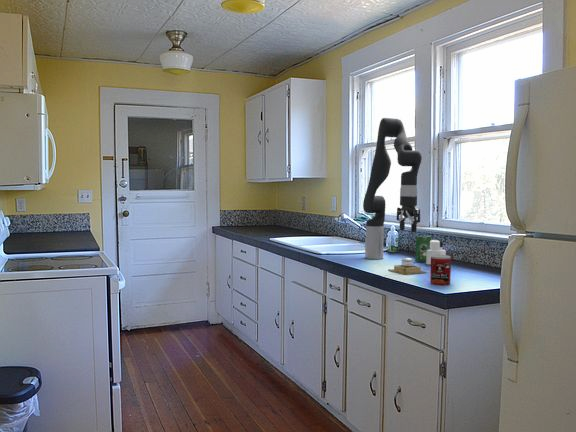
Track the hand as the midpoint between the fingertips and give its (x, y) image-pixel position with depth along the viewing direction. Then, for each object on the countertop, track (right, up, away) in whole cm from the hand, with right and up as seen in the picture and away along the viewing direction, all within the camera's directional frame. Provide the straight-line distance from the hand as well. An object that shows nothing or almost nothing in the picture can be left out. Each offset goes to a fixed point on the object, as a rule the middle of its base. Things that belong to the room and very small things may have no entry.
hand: (407, 231), depth 238 cm
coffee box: (+15, -17, +32) cm, 39 cm away
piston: (0, -18, 0) cm, 18 cm away
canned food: (+7, -20, -28) cm, 35 cm away
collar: (0, -18, 0) cm, 18 cm away
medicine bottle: (+19, -17, +23) cm, 34 cm away
